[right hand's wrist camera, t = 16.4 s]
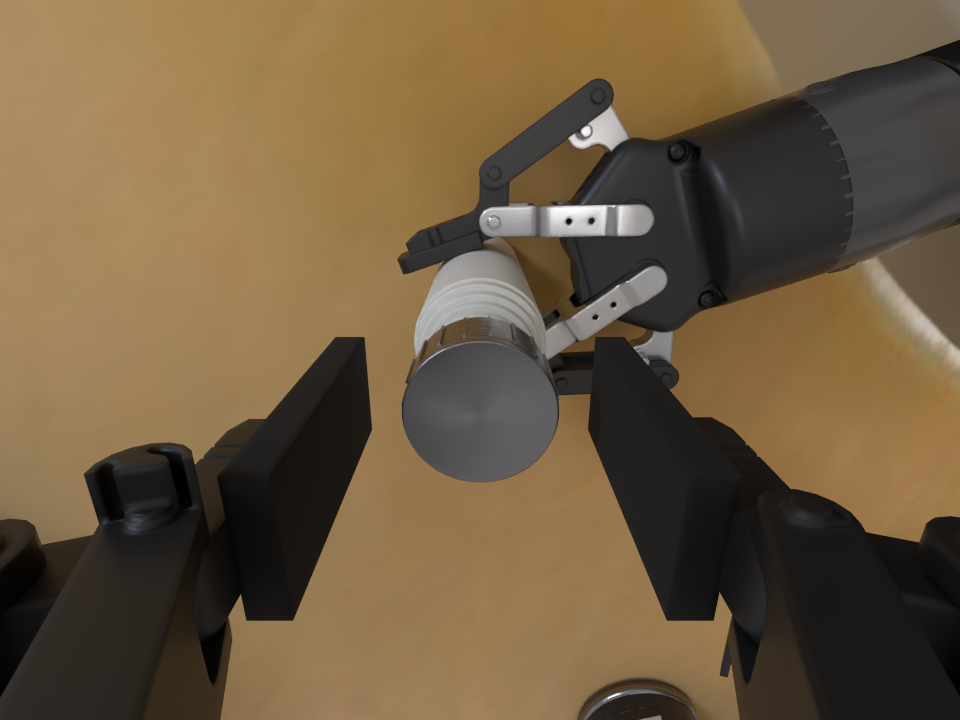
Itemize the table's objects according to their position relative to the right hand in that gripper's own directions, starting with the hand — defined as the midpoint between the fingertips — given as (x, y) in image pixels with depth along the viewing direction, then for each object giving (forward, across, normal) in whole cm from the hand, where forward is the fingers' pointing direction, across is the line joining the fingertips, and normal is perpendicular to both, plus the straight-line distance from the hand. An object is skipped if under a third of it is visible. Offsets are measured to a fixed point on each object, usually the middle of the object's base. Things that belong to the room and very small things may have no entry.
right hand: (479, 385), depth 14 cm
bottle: (+16, 0, 0) cm, 16 cm away
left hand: (+10, -2, -1) cm, 11 cm away
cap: (-1, 0, 0) cm, 1 cm away
